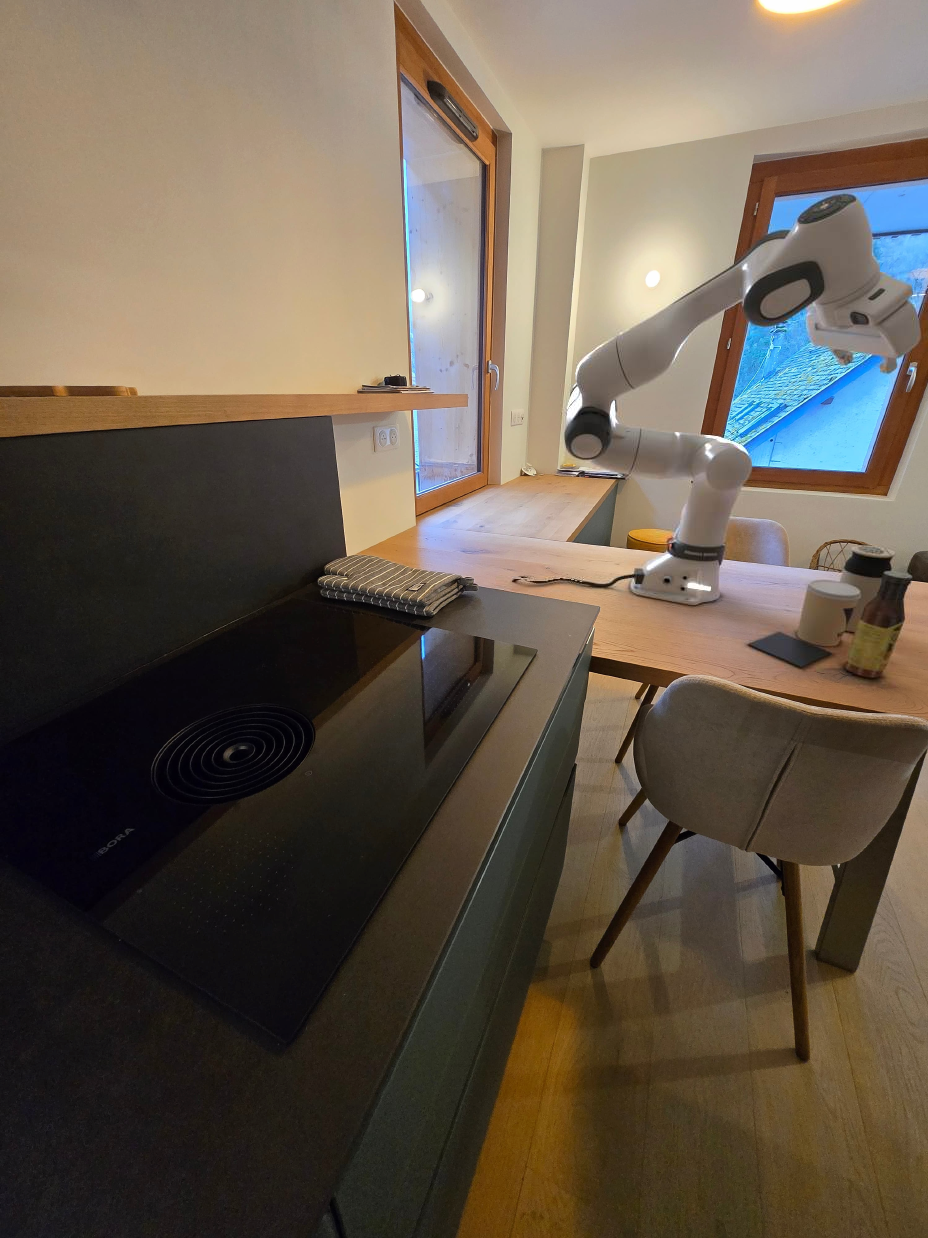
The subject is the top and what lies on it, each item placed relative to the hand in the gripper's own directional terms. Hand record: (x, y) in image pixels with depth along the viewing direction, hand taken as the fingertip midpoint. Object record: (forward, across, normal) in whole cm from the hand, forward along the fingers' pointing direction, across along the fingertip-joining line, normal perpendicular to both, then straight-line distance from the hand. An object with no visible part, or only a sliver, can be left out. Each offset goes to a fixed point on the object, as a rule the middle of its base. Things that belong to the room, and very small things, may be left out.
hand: (867, 366), depth 90 cm
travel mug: (+48, +11, -25) cm, 55 cm away
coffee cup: (+40, +15, -33) cm, 54 cm away
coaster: (+33, +18, -40) cm, 55 cm away
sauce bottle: (+37, +28, -33) cm, 57 cm away
